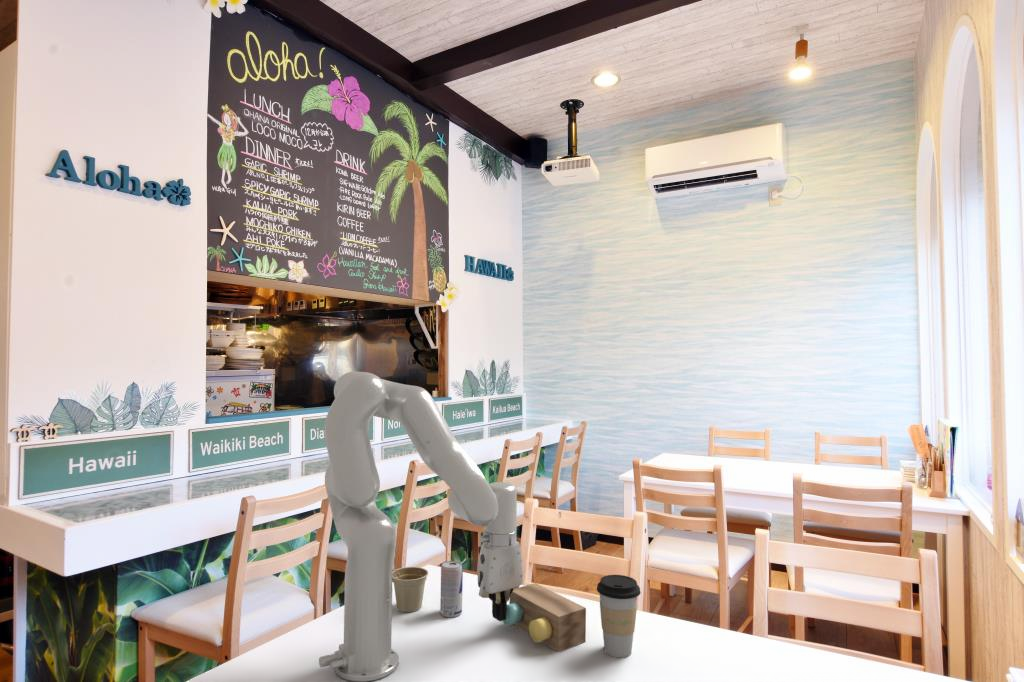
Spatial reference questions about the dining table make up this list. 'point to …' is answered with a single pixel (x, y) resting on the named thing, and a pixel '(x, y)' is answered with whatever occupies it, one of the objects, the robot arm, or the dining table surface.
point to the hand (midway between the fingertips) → (499, 618)
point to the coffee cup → (618, 613)
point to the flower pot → (409, 587)
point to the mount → (551, 615)
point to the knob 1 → (513, 614)
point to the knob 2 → (540, 629)
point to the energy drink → (451, 589)
